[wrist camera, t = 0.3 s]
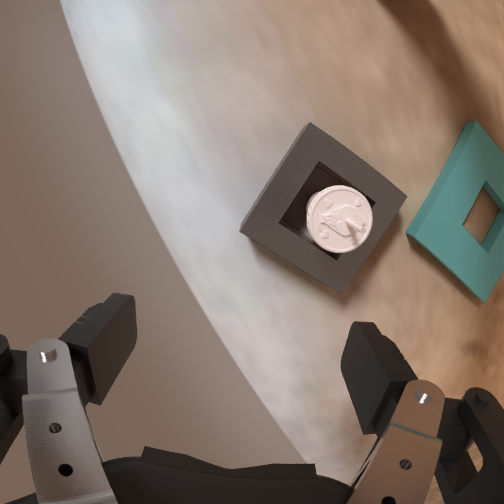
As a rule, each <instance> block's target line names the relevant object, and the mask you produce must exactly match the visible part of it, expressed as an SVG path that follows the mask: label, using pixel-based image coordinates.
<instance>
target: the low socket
mask: <svg viewBox="0 0 504 504" xmlns="http://www.w3.org/2000/svg"><path fill="white" fill-rule="evenodd" d="M482 186H483V188H484V189H485V190H486V191H487V193H488V194H489V195H490V196H491V198H492V199H493V200H494V202H495V203H496V204H497V206H498V207H499V208H500V211H499V213H498V215H497V217H496V219H495V221H494V223H493V224H492V226H491V228H490V230H489V232H488V234H487V236H486V238H485V239H484V241H483V243H482V245H480V244H479V243H478V242H477V241H476V239H475V238H474V237H473V236H472V235H471V234H470V233H469V232H468V230H467V229H466V228H465V227H464V226H463V225H462V224H463V222H464V220H465V218H466V217H467V215H468V213H469V211H470V209H471V207H472V205H473V204H474V202H475V200H476V198H477V196H478V194H479V192H480V190H481V188H482ZM406 233H407V234H408V235H409V236H411V237H412V238H413V239H414V240H415V241H416V242H418V243H419V244H420V245H421V246H422V247H423V248H424V249H426V250H427V251H428V252H429V253H430V254H431V255H432V256H433V257H435V258H436V259H437V260H438V261H439V262H440V263H441V264H442V265H443V266H444V267H446V268H447V269H448V270H449V271H450V272H451V273H452V274H453V275H454V276H455V277H456V278H457V279H458V280H459V281H460V282H461V283H462V284H463V285H464V286H465V287H466V288H467V289H468V290H469V291H470V292H471V293H472V294H473V295H474V296H475V297H477V298H478V299H479V300H481V301H482V302H483V303H485V301H486V300H487V298H488V297H489V295H490V294H491V292H492V290H493V289H494V287H495V285H496V284H497V282H498V280H499V279H500V277H501V275H502V274H503V272H504V154H503V153H502V151H501V150H500V149H499V147H498V146H497V145H496V144H495V142H494V141H493V140H492V138H491V137H490V136H489V135H488V133H487V132H486V131H485V130H484V128H483V127H482V126H481V125H480V124H479V123H478V121H469V122H467V123H466V125H465V127H464V129H463V131H462V133H461V135H460V137H459V139H458V141H457V143H456V145H455V147H454V149H453V151H452V153H451V155H450V157H449V159H448V161H447V162H446V164H445V166H444V168H443V170H442V172H441V174H440V175H439V177H438V179H437V181H436V183H435V184H434V186H433V188H432V190H431V191H430V193H429V195H428V196H427V198H426V200H425V202H424V203H423V205H422V207H421V208H420V210H419V211H418V213H417V215H416V216H415V218H414V220H413V221H412V223H411V224H410V226H409V228H408V229H407V231H406Z"/></svg>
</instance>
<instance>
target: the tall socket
mask: <svg viewBox="0 0 504 504" xmlns="http://www.w3.org/2000/svg"><path fill="white" fill-rule="evenodd" d="M316 165H317V166H319V167H320V168H322V169H323V170H325V171H326V172H327V173H329V174H330V175H332V176H333V177H335V178H336V179H337V180H339V181H340V182H341V183H343V184H344V185H346V186H347V187H351V188H353V189H355V190H357V191H358V192H360V193H361V194H362V195H363V196H364V197H365V198H366V199H367V201H368V203H369V205H370V207H371V210H372V216H373V221H372V227H371V230H370V233H369V235H368V237H367V238H366V240H365V241H364V242H363V243H362V244H361V245H360V246H359V247H357V248H356V249H354V250H352V251H349V252H345V253H334V252H330V251H328V250H325V249H324V248H322V247H321V246H319V245H318V244H317V243H316V242H315V241H313V240H312V239H310V238H309V237H307V236H306V235H304V234H302V233H301V232H299V231H298V230H296V229H295V228H293V227H292V226H290V225H288V224H287V223H285V222H284V221H282V220H281V218H282V216H283V215H284V213H285V212H286V210H287V209H288V207H289V206H290V204H291V203H292V201H293V200H294V198H295V196H296V195H297V193H298V192H299V190H300V189H301V187H302V186H303V184H304V183H305V181H306V180H307V178H308V177H309V175H310V173H311V172H312V170H313V169H314V167H315V166H316ZM406 198H407V196H406V195H405V194H404V193H403V192H402V191H401V190H400V189H398V188H397V187H396V186H395V185H394V184H392V183H391V182H390V181H389V180H388V179H386V178H385V177H384V176H383V175H381V174H380V173H379V172H378V171H376V170H375V169H374V168H373V167H371V166H370V165H369V164H368V163H366V162H365V161H364V160H362V159H361V158H360V157H358V156H357V155H356V154H354V153H353V152H352V151H350V150H349V149H348V148H346V147H345V146H344V145H342V144H341V143H339V142H338V141H337V140H335V139H334V138H332V137H331V136H330V135H328V134H327V133H325V132H324V131H322V130H321V129H319V128H318V127H316V126H315V125H313V124H312V123H308V124H307V125H306V126H305V127H303V129H302V130H301V132H300V133H299V135H298V136H297V138H296V139H295V141H294V142H293V144H292V146H291V147H290V149H289V150H288V152H287V153H286V155H285V156H284V158H283V159H282V161H281V162H280V164H279V165H278V167H277V169H276V170H275V172H274V173H273V175H272V176H271V178H270V179H269V181H268V182H267V184H266V186H265V187H264V189H263V190H262V192H261V193H260V195H259V197H258V198H257V200H256V201H255V203H254V204H253V206H252V208H251V209H250V211H249V212H248V214H247V215H246V217H245V219H244V220H243V222H242V223H241V227H240V231H239V232H241V233H243V234H244V235H246V236H248V237H249V238H251V239H253V240H254V241H256V242H257V243H259V244H261V245H262V246H264V247H266V248H267V249H269V250H271V251H272V252H274V253H275V254H277V255H279V256H280V257H282V258H284V259H285V260H287V261H288V262H290V263H292V264H293V265H295V266H297V267H298V268H300V269H301V270H303V271H305V272H306V273H308V274H310V275H311V276H313V277H314V278H316V279H318V280H319V281H321V282H322V283H324V284H326V285H327V286H329V287H331V288H332V289H334V290H335V291H337V292H339V293H340V294H342V292H343V291H344V290H345V288H346V287H347V286H348V284H349V283H350V282H351V280H352V279H353V277H354V276H355V275H356V273H357V272H358V271H359V269H360V268H361V266H362V265H363V263H364V262H365V261H366V259H367V258H368V256H369V255H370V253H371V252H372V250H373V249H374V248H375V246H376V245H377V243H378V242H379V240H380V239H381V237H382V236H383V234H384V233H385V231H386V230H387V228H388V226H389V225H390V223H391V222H392V220H393V219H394V217H395V216H396V214H397V212H398V211H399V209H400V208H401V206H402V204H403V203H404V201H405V200H406Z"/></svg>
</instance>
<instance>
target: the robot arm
mask: <svg viewBox="0 0 504 504" xmlns="http://www.w3.org/2000/svg"><path fill="white" fill-rule="evenodd" d="M136 340H137V325H136V308H135V299H134V297H133V296H131V295H126V294H120V293H113V294H112V295H111V296H110V297H109V298H108V299H107V300H106V301H105V302H104V303H99V304H96V305H95V306H92V307H90V308H88V310H86V311H85V313H83V314H82V317H81V316H80V317H79V318H78V319H77V320H76V322H74V324H72V325H71V326H70V328H68V329H67V330H66V331H65V333H63V335H62V336H61V337H60V338H59V339H58V340H57V339H44V340H40V341H38V342H36V343H34V344H33V345H32V346H30V348H29V349H28V351H20V350H11V349H10V346H9V343H8V340H7V338H6V337H5V336H3V335H1V334H0V464H1V462H2V461H3V459H4V457H5V455H6V454H7V451H8V450H9V448H10V447H11V445H12V443H13V441H14V440H15V438H16V437H17V435H18V433H19V432H20V430H21V428H22V427H23V425H24V429H25V437H26V444H27V451H28V457H29V463H30V468H31V473H32V477H33V482H34V487H35V491H36V492H35V493H33V494H30V495H28V496H25V497H22V498H20V499H17V500H14V501H11V502H8V503H5V504H424V502H425V499H426V496H427V493H428V490H429V488H430V484H431V481H432V478H433V475H435V477H436V480H437V483H438V486H439V488H440V491H441V494H442V497H443V500H444V503H445V504H504V409H503V408H502V406H501V405H500V404H499V402H498V401H497V399H496V398H495V397H494V396H493V395H492V394H491V393H490V392H488V391H487V390H485V389H482V388H477V387H474V388H470V389H468V390H467V391H466V393H465V394H464V396H463V398H462V399H461V400H459V399H451V398H445V396H444V393H443V392H442V390H441V389H440V388H439V387H438V386H437V385H435V384H433V383H431V382H429V381H426V380H419V379H418V378H417V376H416V375H415V373H414V372H413V370H412V368H411V367H410V365H409V364H408V362H407V361H406V360H404V356H403V355H402V353H400V350H399V349H398V347H397V346H396V344H395V343H394V342H393V341H391V340H390V339H389V338H387V337H386V336H385V335H382V334H381V332H380V331H379V329H378V328H377V326H376V325H375V323H373V322H357V321H355V322H353V324H352V325H351V328H350V331H349V335H348V338H347V341H346V345H345V348H344V351H343V354H342V358H341V372H342V375H343V377H344V380H345V383H346V386H347V389H348V391H349V394H350V397H351V400H352V403H353V406H354V409H355V411H356V414H357V417H358V420H359V423H360V426H361V429H362V432H363V435H365V434H376V435H377V439H376V441H375V442H374V444H373V446H372V448H371V450H370V451H369V453H368V455H367V457H366V458H365V460H364V462H363V464H362V465H361V467H360V469H359V470H358V472H357V474H356V475H355V477H354V478H353V480H352V482H351V483H350V484H349V486H348V485H346V484H344V483H342V482H340V481H337V480H335V479H332V478H329V477H325V476H321V475H317V474H316V468H315V464H268V465H262V466H255V467H248V468H239V469H226V468H222V467H219V466H216V465H213V464H210V463H207V462H205V461H202V460H199V459H196V458H193V457H191V456H188V455H185V454H180V453H175V452H169V451H165V450H160V449H155V448H151V447H147V446H145V447H144V450H143V453H142V456H141V457H136V456H135V457H123V458H116V459H112V460H108V461H106V462H104V460H103V458H102V455H101V453H100V450H99V447H98V445H97V442H96V440H95V436H94V434H93V431H92V428H91V425H90V422H89V418H88V415H87V412H86V409H85V407H86V405H87V404H88V402H91V403H94V404H97V405H101V404H102V402H103V400H104V399H105V397H106V395H107V393H108V392H109V390H110V388H111V386H112V385H113V383H114V381H115V379H116V378H117V376H118V374H119V373H120V371H121V369H122V367H123V366H124V364H125V362H126V361H127V359H128V357H129V356H130V354H131V352H132V351H133V349H134V347H135V344H136ZM474 442H475V443H476V445H477V447H478V449H479V451H480V453H481V455H482V457H483V466H482V468H481V470H480V471H479V473H478V472H477V470H476V468H475V466H474V464H473V462H472V460H471V458H470V455H469V453H468V451H467V450H468V449H469V448H470V447H471V445H472V444H473V443H474Z"/></svg>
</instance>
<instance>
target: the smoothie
mask: <svg viewBox="0 0 504 504" xmlns="http://www.w3.org/2000/svg"><path fill="white" fill-rule="evenodd" d="M306 212H307V227H308V230H309V233H310V235H311V237H312V238H313V240H314V241H315V242H316V243H317V244H318V245H319V246H321V247H322V248H324V249H325V250H328V251H330V252H334V253H345V252H349V251H352V250H354V249H356V248H357V247H359V246H360V245H361V244H362V243H363V242H364V241H365V240H366V238H367V237H368V235H369V233H370V230H371V227H372V221H373V216H372V210H371V207H370V205H369V203H368V201H367V199H366V198H365V197H364V196H363V195H362V194H361V193H360V192H358V191H357V190H355V189H353V188H351V187H347V186H343V185H338V186H331V187H328V188H325V189H324V190H322V191H320V192H316V193H313V194H312V195H311V196H310V197H309V198H308V199H307V202H306Z"/></svg>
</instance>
